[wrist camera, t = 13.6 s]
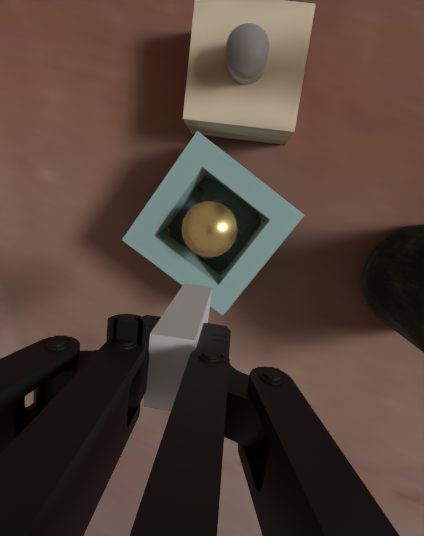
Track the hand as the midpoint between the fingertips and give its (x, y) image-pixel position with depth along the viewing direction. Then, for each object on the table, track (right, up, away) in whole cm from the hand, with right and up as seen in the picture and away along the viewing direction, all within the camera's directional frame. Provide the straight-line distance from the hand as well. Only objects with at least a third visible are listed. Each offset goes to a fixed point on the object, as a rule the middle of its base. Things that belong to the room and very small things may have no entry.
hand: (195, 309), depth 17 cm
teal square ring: (+1, +6, +11) cm, 13 cm away
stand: (+4, +18, +11) cm, 21 cm away
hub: (+1, +6, +13) cm, 15 cm away
